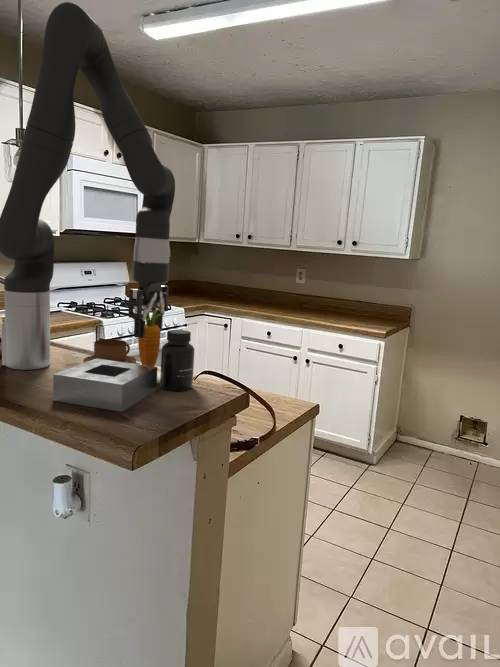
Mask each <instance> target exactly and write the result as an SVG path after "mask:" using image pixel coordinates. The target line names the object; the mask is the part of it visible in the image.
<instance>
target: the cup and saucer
mask: <svg viewBox="0 0 500 667" xmlns="http://www.w3.org/2000/svg"><path fill="white" fill-rule="evenodd" d="M130 350H131V347H130V344H129V343H127V341H126V340H122V339H114V338H113V339H112V338H111V339H109V338H106V339H105V338H104V339H98V340H95V341H94V342H93V354H94V355H91V356H90V355H88V356H86V357H84V358H83V363H85V362H88V361H91V360H93V359H96V358H97V359H104V360H111V361H118V362H126V363H133V364H137V359H136V357H133V356H130V355H129V353H130Z"/></svg>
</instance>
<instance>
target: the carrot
mask: <svg viewBox="0 0 500 667" xmlns="http://www.w3.org/2000/svg"><path fill="white" fill-rule="evenodd" d="M156 312H157V310H154V311H153V312H152V314H151V317H150V312H148V313H147V316H146V318H145V337H144V338H137V339H138V340H137V341H138V343H137V345H138V354H139V359H140V362H141V365H147V366H154V367H156V363H157V361H158V357H159V352H160V345H161V334H162V333H161V332H162V331H161V330H160V328H159V327H158V326H157V325H153V324H154V322H155V320H156V319H157V318H158V317H160V316H161V314H157V315H156ZM155 315H156V316H155Z"/></svg>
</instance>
